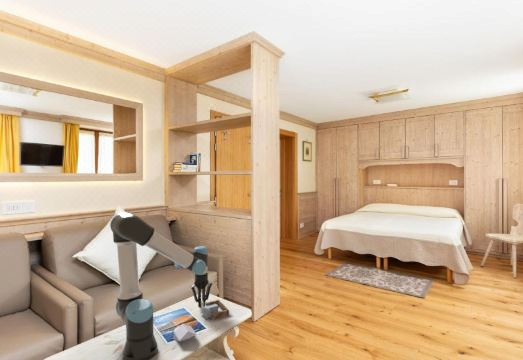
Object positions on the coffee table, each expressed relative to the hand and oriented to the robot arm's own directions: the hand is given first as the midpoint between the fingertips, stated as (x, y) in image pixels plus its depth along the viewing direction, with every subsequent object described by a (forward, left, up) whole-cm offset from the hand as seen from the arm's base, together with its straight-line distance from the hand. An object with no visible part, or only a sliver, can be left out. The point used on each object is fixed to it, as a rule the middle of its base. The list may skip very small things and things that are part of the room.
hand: (201, 312), depth 169 cm
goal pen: (+9, 0, -2) cm, 9 cm away
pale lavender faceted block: (-15, -18, -2) cm, 24 cm away
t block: (+5, 0, -2) cm, 5 cm away
